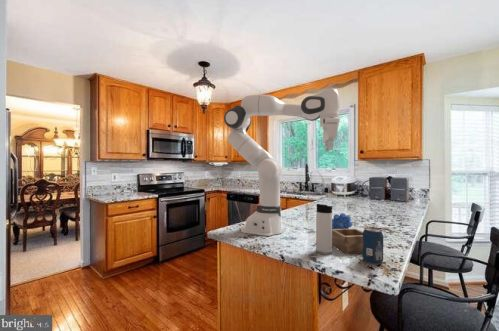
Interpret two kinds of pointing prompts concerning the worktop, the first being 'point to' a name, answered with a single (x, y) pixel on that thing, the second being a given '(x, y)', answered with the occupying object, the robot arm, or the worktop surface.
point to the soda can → (372, 245)
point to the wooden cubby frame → (347, 240)
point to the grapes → (341, 221)
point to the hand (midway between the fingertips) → (328, 150)
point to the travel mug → (324, 229)
